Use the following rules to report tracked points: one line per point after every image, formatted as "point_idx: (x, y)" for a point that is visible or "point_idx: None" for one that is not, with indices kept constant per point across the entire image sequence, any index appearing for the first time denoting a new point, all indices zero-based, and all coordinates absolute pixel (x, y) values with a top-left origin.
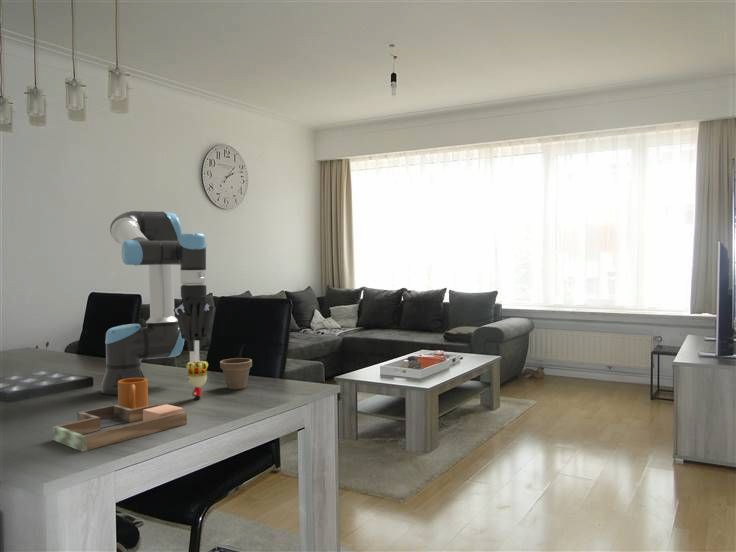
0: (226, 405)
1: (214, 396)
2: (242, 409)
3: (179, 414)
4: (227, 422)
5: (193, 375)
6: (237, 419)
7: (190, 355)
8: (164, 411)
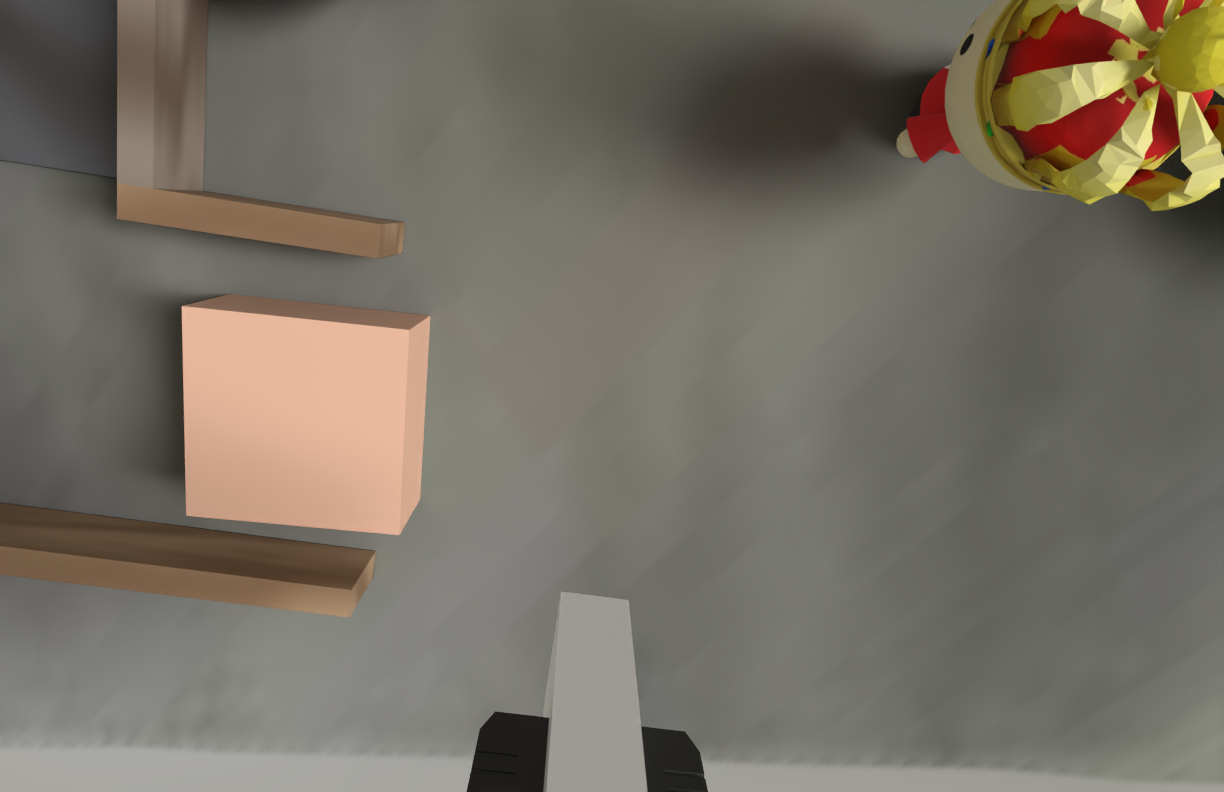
0: (868, 470)
1: None
2: (823, 634)
3: (290, 607)
4: None
5: (985, 117)
6: None
7: (555, 653)
8: (252, 489)
